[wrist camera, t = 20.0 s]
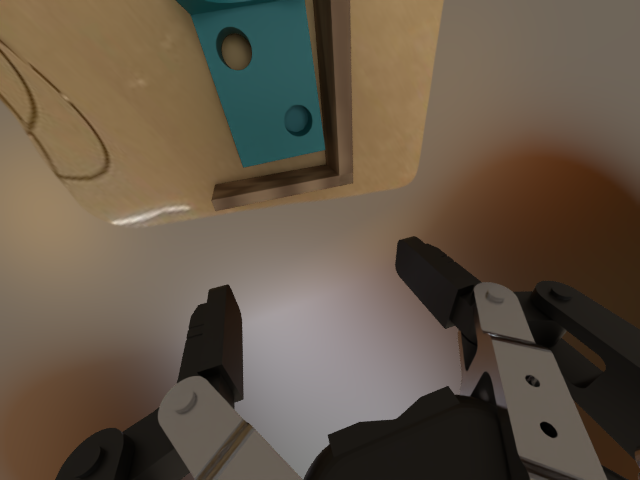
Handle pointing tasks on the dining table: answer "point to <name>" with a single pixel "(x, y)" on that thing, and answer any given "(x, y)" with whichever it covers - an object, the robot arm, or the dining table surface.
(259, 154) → the teal l-shaped bracket
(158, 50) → the dining table surface
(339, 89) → the bracket
